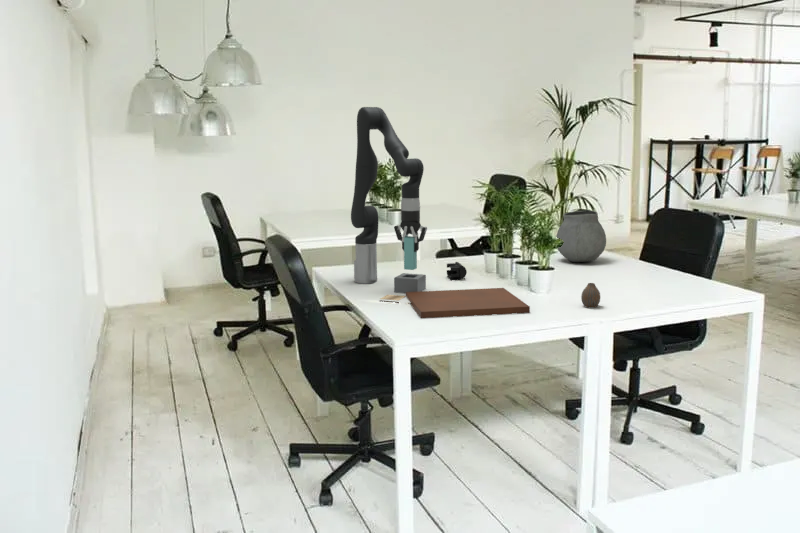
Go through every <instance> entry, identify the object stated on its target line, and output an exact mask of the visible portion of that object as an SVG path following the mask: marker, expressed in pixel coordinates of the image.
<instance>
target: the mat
mask: <svg viewBox="0 0 800 533" xmlns="http://www.w3.org/2000/svg"><path fill="white" fill-rule="evenodd" d="M405 297H406V295H398V294H397V295H396V294H386V295H384V296H382V297H380V298H379V302H381V301H384V303H393V302H395V303H396V304H400V303H399V302H400V300H402V299H404V298H405ZM406 298H407V297H406Z"/></svg>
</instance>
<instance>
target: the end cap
mask: <svg viewBox="0 0 800 533" xmlns="http://www.w3.org/2000/svg"><path fill="white" fill-rule="evenodd" d="M446 268H450V269H447V270H446V277H447V278H448V280H449V281H452V280H455V281H462V280H463V279H464V278H465V277H466V276H467V273H468V272H467V268H466V267H465V266H464V265H462V263H460V262H458V261H455V262H454V263H453V262H452V263H450V262H449V263H446Z"/></svg>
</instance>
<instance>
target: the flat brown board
mask: <svg viewBox="0 0 800 533" xmlns="http://www.w3.org/2000/svg"><path fill="white" fill-rule="evenodd" d="M405 296H406V298H407V299H408V301H409V304H410V306H411V307H412V309H414V311H415V312H416V313H417V315H418V316H419V318H420V319H433V318H434V319H436V318H453V316H457V317H474V315H477V316H492V314H497V315H512V313H517V314H529V313H531V312H530V309H531V306H530V305H528V304H527V303H525V302H524V301H523V300H521V299H520V298H519V297H517V295H516V296H515V295H514V294H513V293H511V292H510V290H509V291H508V289H506V288H504V287H495V288H494V287H491V288H490V287H489V288H473V289H472V288H470V289H469V288H468V289H449V290H448V289H447V290H446V289H444V290H443V289H442V290H427V291H425V290H423V291H420V292H406V293H405Z"/></svg>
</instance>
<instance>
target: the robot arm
mask: <svg viewBox="0 0 800 533" xmlns="http://www.w3.org/2000/svg"><path fill="white" fill-rule="evenodd" d="M371 130H378V132H380V133H381V134H382V135H383V145H384V148H385V150H386V152H387V153H388V155H389V157H391V159H392V160H393V163H394V166H395V169H396V171H397V173H398V174H399V175H400V176H401V177H404V178H405V177H406V178H408V177H409V179H408V181H407V182H404V183H402V185H401V201H400V202H401V204H400V221H401V222H400V224H398V225H395V226H394V227H393V228H394V232H395V235H396V238H397V241H401V249H402V250H403V252H404V237H407V236H409V235H411V236H413V238H414V241H415V243H414V252H417V253H418V251H419V249H420V246H419V245H420V242H422V241H424V240H425V236H426V233H427V230H428V227H427V226H423V225H421V202H420V187H421V183H422V179H423V175H424V170H425V168H424V164H423V161H422V160H421V159H420V158H417V157H416V158H409V155H410V153H409V150H408V148H407V147H406V146H405V144H404V143H403V142H402V141H401V139H400V138H399V137H398V135H397V132H395V129H394V128H393V125H392V123H391V121H390V119H389V117H388V116H387V113H386V112H385V111H384V110H383V108H382V107H378V106H363V107H360V108H359V110H358V112H357V117H356V137H357V138H356V141H357V142H356V145H357V146H356V147H357V148H356V160H355V161H356V162H355V174H354V176H355V178H354V189H353V191H354V192H353V198H352V203H351V210H350V222H351V225H352V226H353V227H354V228H355V229H363V230H362V231H361V232H360V233H359V234H357V235H356V236H355V239H354V240H355V242H354V243H355V260H353V272H354V273H353V276H354V278H353V281H354V283H358V284H366V285H367V284H374V283H377V282H378V259H377V258H378V254H377V253H378V252H377V246H378V245H377V244H378V243H377V239H378V235H379V212H378V210H377V208H376V206H373V205H366V201H367V197H368V195H369V192H370V190H371V189H372V187H373V185H374V184H375V182H376V180H377V177H378V166H379V164H378V163H379V162H378V158H377V155H376V153H375V151H374V149H373V147H372V143H371V139H370V138H371V137H370V134H371V133H370V132H371ZM401 230H402V231H403V233H402V232H401ZM419 230H420V233H419ZM419 234H420V235H419Z"/></svg>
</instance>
